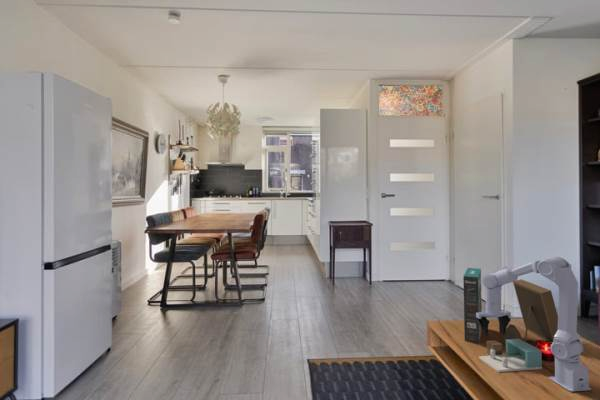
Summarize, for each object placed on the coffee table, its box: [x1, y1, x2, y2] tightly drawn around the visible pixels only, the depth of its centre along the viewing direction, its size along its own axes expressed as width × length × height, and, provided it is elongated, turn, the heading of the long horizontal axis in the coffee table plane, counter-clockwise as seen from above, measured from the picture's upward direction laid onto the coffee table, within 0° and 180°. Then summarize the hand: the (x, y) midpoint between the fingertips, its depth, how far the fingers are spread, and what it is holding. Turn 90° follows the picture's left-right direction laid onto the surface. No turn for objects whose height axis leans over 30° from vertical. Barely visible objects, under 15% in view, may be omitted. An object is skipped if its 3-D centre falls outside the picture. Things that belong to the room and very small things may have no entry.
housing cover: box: [505, 338, 543, 367], centre depth 143 cm, size 12×6×6 cm, turn 7°
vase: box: [502, 324, 522, 343], centre depth 160 cm, size 7×7×9 cm
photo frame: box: [512, 278, 558, 343], centre depth 168 cm, size 15×22×25 cm
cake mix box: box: [463, 267, 483, 344], centre depth 174 cm, size 22×6×30 cm, turn 150°
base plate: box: [478, 349, 543, 373], centre depth 143 cm, size 12×18×4 cm, turn 97°
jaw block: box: [486, 340, 503, 355], centre depth 151 cm, size 4×4×5 cm
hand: (493, 334), depth 151 cm, fingers open, 7 cm apart
